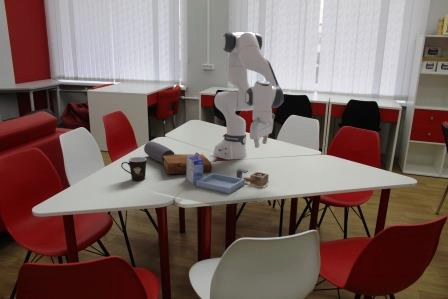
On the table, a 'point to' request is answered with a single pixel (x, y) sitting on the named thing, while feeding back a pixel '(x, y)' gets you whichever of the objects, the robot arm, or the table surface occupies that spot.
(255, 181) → the wooden mooncake mold
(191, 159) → the ink cartridge box
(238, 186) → the tray
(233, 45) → the robot arm
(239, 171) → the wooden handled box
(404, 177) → the table surface
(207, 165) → the diary
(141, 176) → the coffee mug
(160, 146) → the bluetooth speaker
